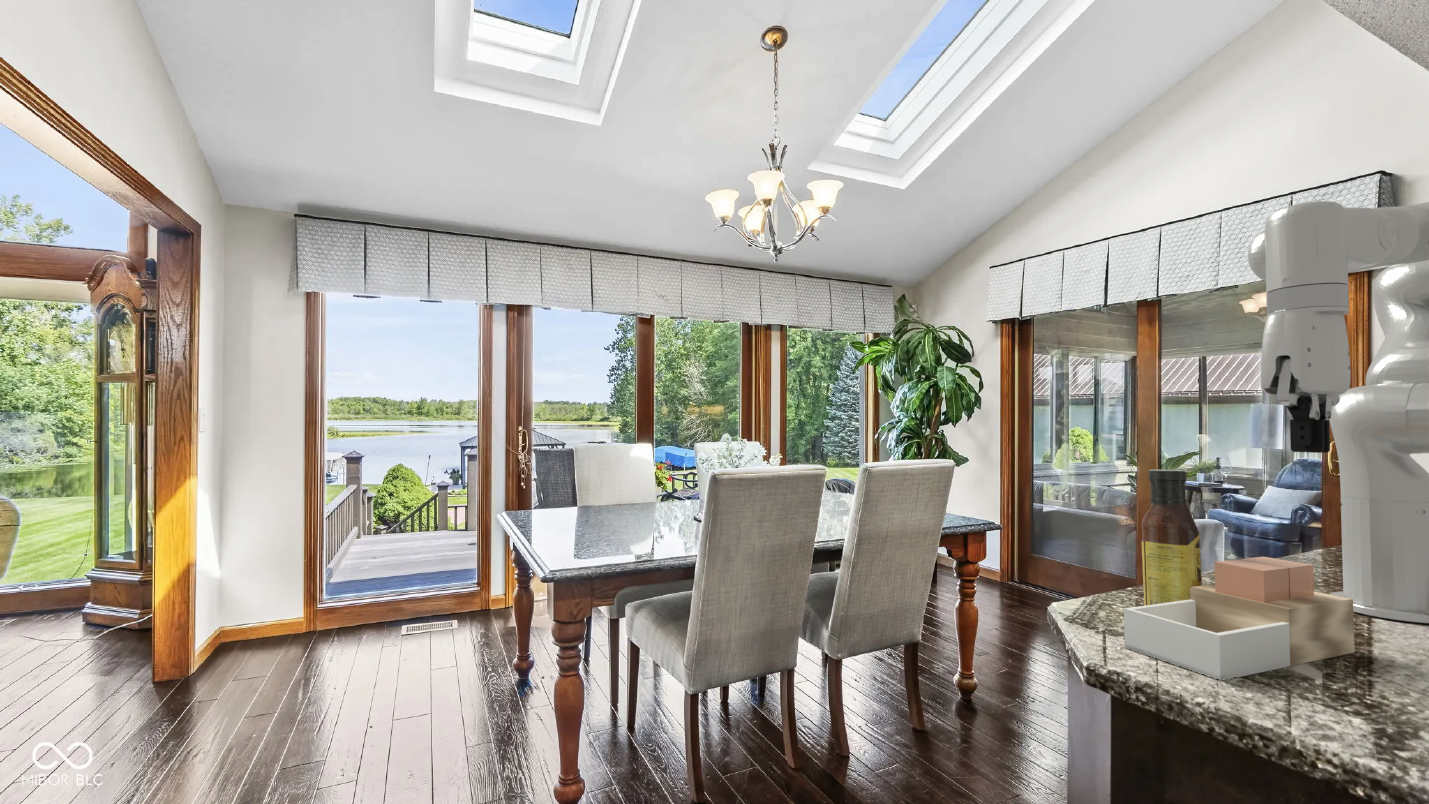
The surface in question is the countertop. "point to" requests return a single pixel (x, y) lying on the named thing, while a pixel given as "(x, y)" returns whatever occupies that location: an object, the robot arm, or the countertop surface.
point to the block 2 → (1293, 575)
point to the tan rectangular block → (1283, 620)
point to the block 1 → (1252, 580)
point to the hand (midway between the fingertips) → (1310, 451)
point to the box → (1204, 641)
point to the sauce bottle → (1169, 541)
